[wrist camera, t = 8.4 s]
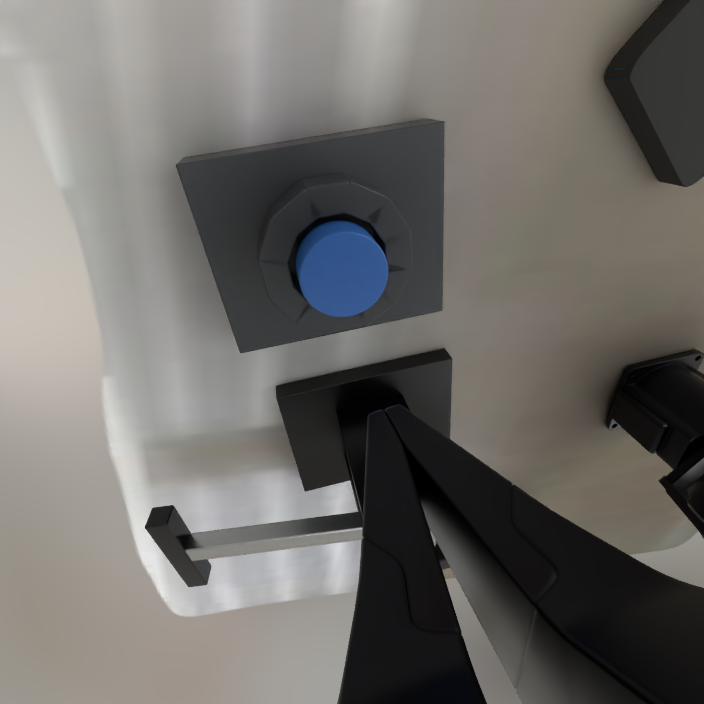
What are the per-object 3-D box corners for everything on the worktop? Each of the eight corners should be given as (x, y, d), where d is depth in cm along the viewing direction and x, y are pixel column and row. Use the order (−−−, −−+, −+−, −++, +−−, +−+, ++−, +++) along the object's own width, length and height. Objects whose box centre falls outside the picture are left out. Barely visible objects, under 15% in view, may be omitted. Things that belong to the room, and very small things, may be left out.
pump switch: (427, 118, 18) (466, 124, 15) (429, 295, 23) (458, 328, 20) (182, 157, 17) (165, 173, 14) (241, 334, 22) (239, 376, 19)
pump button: (373, 212, 16) (385, 223, 15) (380, 291, 18) (391, 308, 17) (287, 228, 16) (290, 241, 14) (304, 306, 18) (308, 325, 16)
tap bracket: (303, 478, 29) (321, 623, 21) (275, 385, 24) (285, 529, 16) (443, 443, 31) (510, 569, 23) (444, 348, 25) (532, 465, 17)
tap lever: (196, 557, 24) (185, 600, 22) (156, 496, 20) (138, 540, 18) (426, 527, 24) (436, 568, 22) (425, 461, 20) (436, 502, 18)
